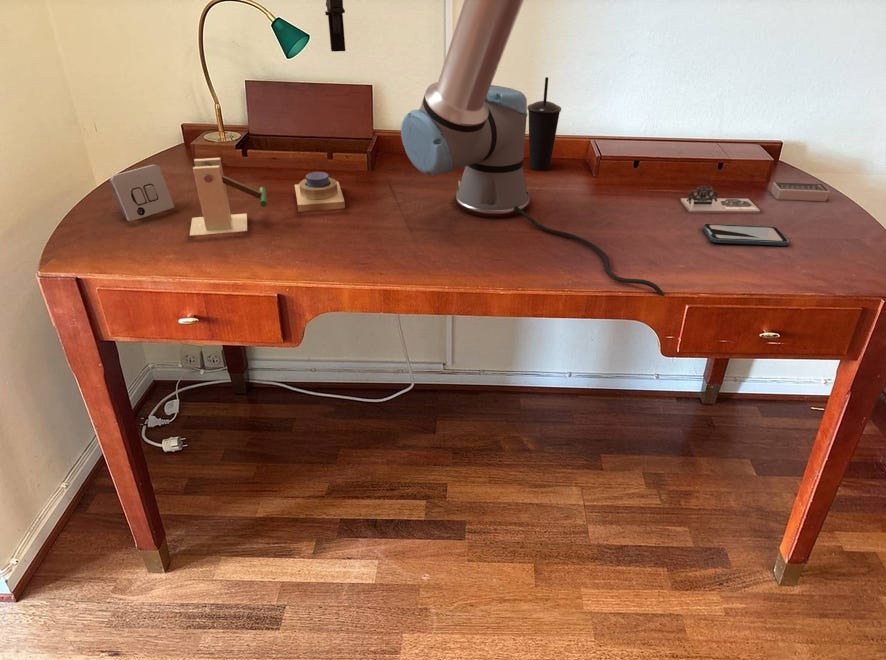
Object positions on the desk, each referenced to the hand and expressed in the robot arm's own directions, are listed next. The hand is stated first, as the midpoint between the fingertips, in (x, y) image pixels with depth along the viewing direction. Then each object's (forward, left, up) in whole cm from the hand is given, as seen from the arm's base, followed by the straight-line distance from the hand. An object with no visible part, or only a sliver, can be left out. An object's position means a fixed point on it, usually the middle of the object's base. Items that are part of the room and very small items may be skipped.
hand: (338, 50), depth 137 cm
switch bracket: (-8, +34, -26) cm, 44 cm away
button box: (-9, +12, -26) cm, 31 cm away
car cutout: (-60, -54, -27) cm, 85 cm away
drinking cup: (-20, -40, -27) cm, 52 cm away
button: (-9, +13, -22) cm, 27 cm away
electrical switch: (+6, +42, -27) cm, 50 cm away
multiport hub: (-68, -73, -27) cm, 103 cm away
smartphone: (-72, -44, -26) cm, 88 cm away
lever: (-10, +31, -19) cm, 37 cm away
